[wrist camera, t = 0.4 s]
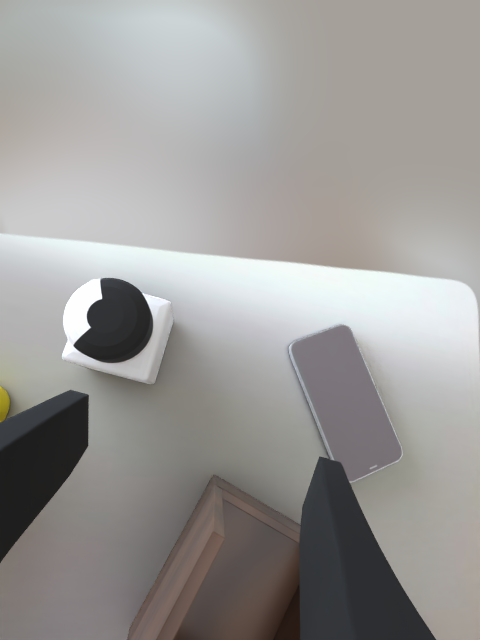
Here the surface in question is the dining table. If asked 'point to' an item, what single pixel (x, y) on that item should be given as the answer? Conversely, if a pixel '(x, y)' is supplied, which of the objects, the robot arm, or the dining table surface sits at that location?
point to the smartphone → (345, 402)
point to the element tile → (4, 404)
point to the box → (243, 575)
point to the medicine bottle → (117, 329)
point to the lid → (185, 573)
